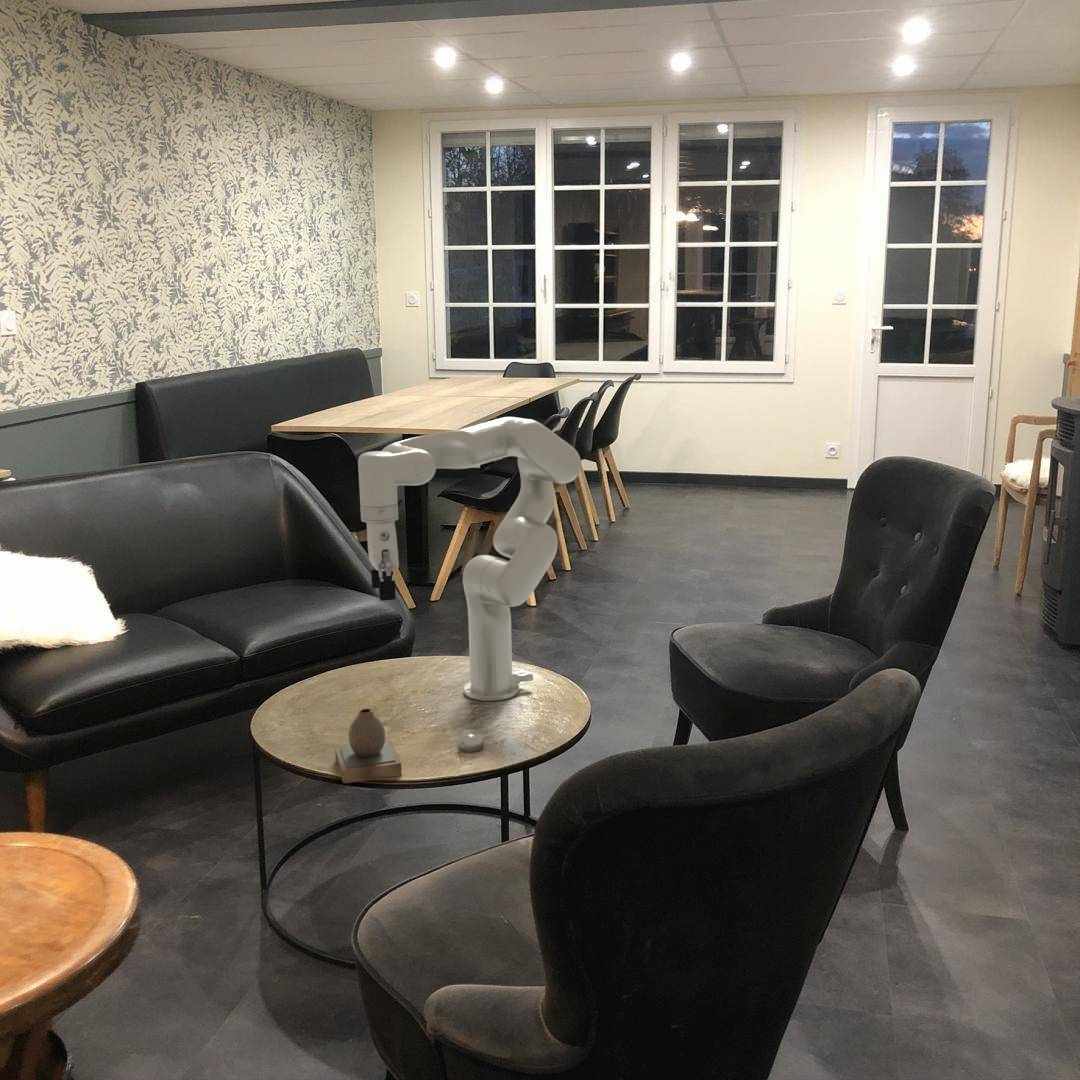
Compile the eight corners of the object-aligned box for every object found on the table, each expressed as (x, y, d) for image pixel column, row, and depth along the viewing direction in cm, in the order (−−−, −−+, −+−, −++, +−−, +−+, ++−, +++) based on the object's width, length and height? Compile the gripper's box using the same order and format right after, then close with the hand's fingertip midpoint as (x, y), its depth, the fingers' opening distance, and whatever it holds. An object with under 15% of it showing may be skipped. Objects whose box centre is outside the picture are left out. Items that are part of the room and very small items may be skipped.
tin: (480, 742, 226) (479, 728, 225) (486, 751, 221) (486, 737, 220) (456, 745, 224) (455, 731, 223) (461, 755, 219) (461, 740, 219)
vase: (391, 748, 216) (389, 705, 214) (377, 762, 210) (374, 718, 208) (359, 744, 218) (356, 702, 216) (343, 759, 212) (341, 715, 210)
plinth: (391, 752, 221) (390, 739, 220) (401, 775, 211) (401, 761, 210) (335, 760, 218) (334, 747, 217) (343, 783, 207) (342, 769, 207)
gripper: (405, 519, 219) (409, 602, 223) (390, 503, 235) (394, 581, 239) (367, 522, 217) (372, 606, 221) (354, 506, 233) (359, 585, 237)
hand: (383, 593), depth 230 cm, fingers open, 9 cm apart
